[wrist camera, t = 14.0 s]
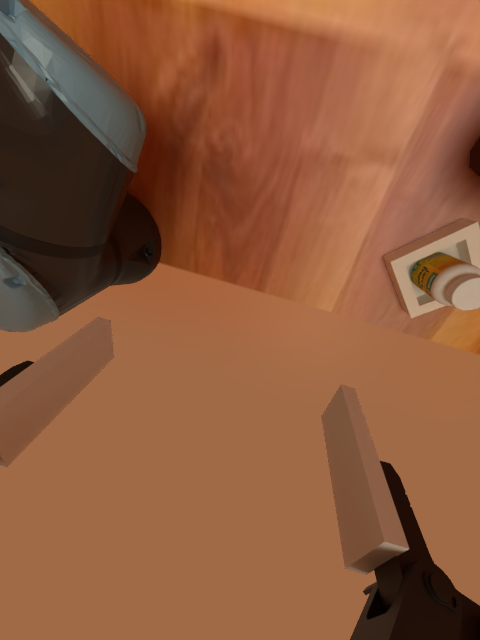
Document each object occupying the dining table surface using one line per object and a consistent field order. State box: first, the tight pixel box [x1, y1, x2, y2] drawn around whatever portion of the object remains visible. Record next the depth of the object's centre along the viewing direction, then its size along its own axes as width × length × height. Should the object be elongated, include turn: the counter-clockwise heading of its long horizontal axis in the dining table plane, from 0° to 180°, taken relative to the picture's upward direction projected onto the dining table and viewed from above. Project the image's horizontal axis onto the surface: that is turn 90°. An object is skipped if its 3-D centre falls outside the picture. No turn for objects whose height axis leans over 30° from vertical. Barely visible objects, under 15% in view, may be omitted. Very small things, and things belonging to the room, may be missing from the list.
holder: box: [383, 219, 480, 318], centre depth 34 cm, size 10×10×3 cm
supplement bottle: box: [410, 252, 480, 310], centre depth 31 cm, size 5×5×10 cm
